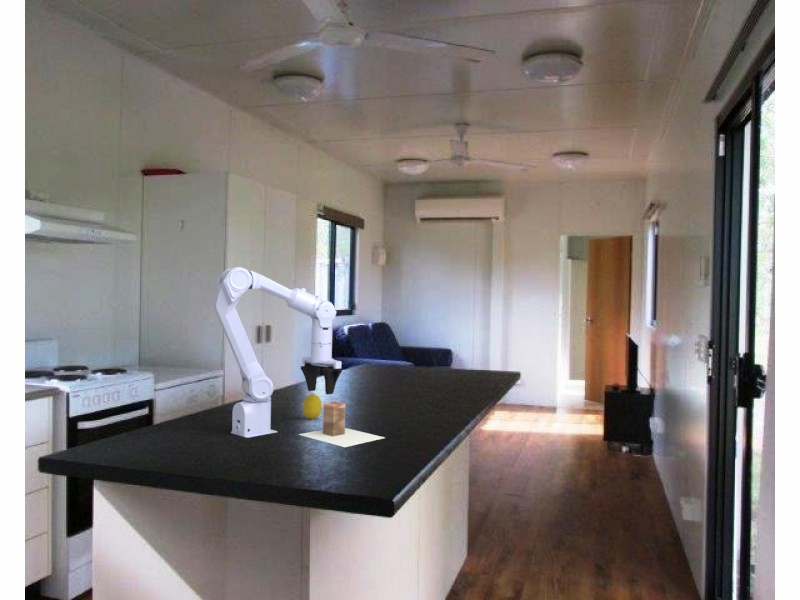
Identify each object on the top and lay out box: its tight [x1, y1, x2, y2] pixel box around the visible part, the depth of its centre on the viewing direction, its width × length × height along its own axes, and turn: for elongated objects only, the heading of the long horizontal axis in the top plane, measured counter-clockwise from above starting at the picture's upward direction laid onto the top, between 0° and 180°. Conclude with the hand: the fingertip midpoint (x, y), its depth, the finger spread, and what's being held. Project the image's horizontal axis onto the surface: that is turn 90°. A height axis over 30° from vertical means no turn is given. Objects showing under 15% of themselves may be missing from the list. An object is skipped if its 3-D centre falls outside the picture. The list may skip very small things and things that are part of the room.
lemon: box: [302, 392, 323, 420], centre depth 169 cm, size 6×6×8 cm
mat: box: [298, 427, 386, 448], centre depth 148 cm, size 14×18×1 cm
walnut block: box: [322, 401, 346, 437], centre depth 150 cm, size 4×4×8 cm
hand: (320, 392), depth 160 cm, fingers open, 7 cm apart
